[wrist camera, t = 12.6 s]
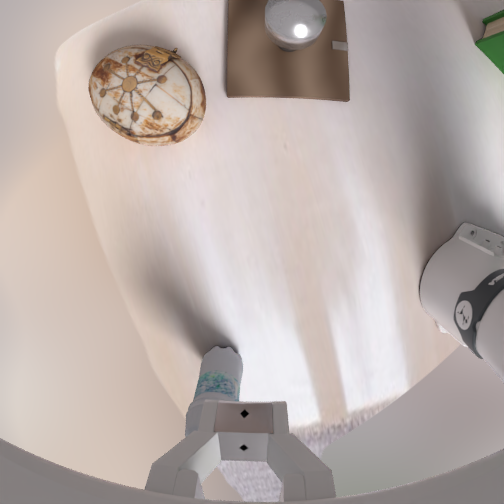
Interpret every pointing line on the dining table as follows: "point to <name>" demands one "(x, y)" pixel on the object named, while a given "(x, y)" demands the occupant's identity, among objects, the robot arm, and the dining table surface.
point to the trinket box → (148, 95)
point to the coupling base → (285, 57)
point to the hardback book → (493, 39)
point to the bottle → (215, 382)
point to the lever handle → (294, 22)
